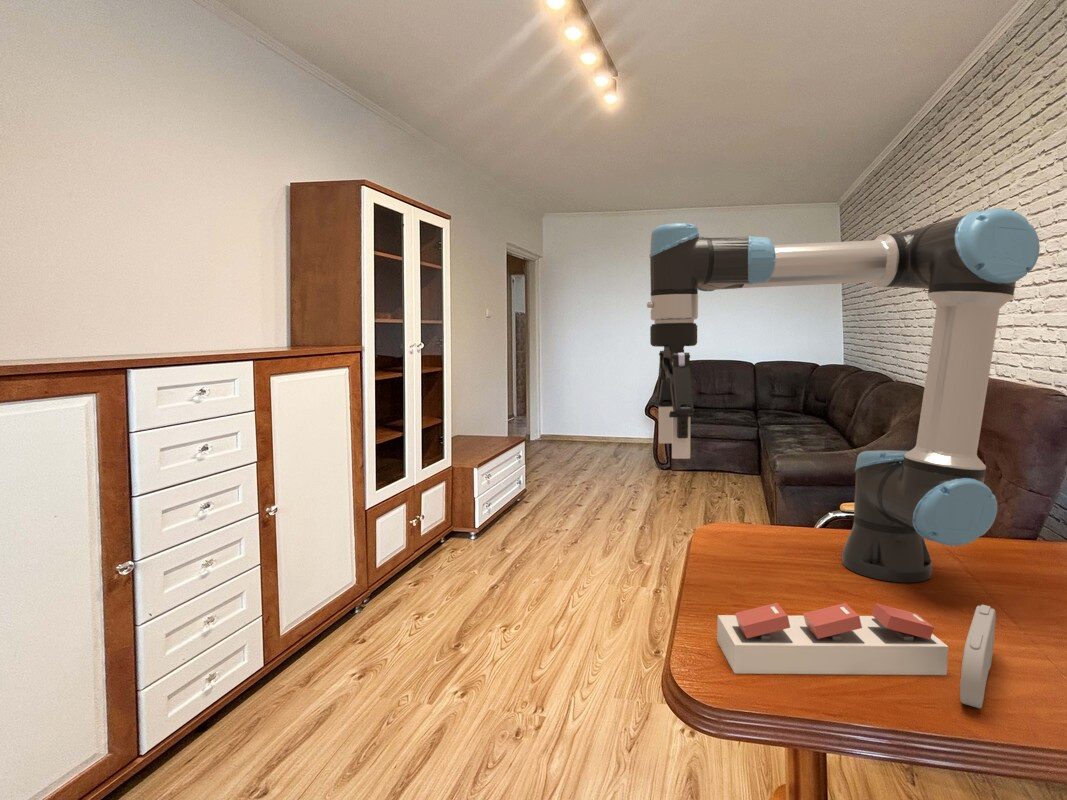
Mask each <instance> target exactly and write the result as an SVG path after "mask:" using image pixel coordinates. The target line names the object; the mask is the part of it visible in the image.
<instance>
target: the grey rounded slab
mask: <svg viewBox="0 0 1067 800" xmlns="http://www.w3.org/2000/svg"><path fill="white" fill-rule="evenodd" d="M996 618H997V617H996V610H995V609H994V608H992V607H991V606H990V605H986V604H980V605H977V606H976V608H975V610H974V614H973V618H972V621H971V623H970V627H969V629H968V633H967V637H966V640H965V644H964V649H963V653H962V663H961V668H960V671H959V672H960V674H959V675H960V676H959V679H960V685H959V688H960V689H959V697H960V700H959V701H960V703H962V704H964V705H967V706H970V707H974V708H976V709H982V707H983V703H984V698H985V693H986V692H985V691H986V684H987V682H988V681H987V680H988V675H989V672H990V669H991V667H992V661H993V654H994V653H993V652H994V646H995V645H994V644H995V636H996V635H995V633H996V622H997V621H996Z"/></svg>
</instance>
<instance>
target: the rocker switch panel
mask: <svg viewBox="0 0 1067 800" xmlns="http://www.w3.org/2000/svg"><path fill="white" fill-rule="evenodd" d="M859 617H860V621H861V626H862V628H860V629H856V630H852V631H848V632H844V633H840V634H836V635H832V636H828V637H823V638H819V639H818V638H817V637H816V636H815V635H814V634H813V633H812V631H811V630H810V629H809V628H808V627H807V626H806V623H805V619H804V615H788V619H789V624H790V628H787V629H783V630H779V631H775V632H771V633H767V634H763V635H759V636H755V637H750V638H746V636H745V635H744V633H743V632H742V630H741V629H740V627H739V625H738V622H737V619H736V615H735V614H734V615H733V614H732V615H731V614H725V615H724V614H723V615H721V614H719V615H717V622H716V623H717V624H716V625H717V629H716V631H717V632H716V641H717V643H718V646H719V647H720V649H721V651H722V654H723V655H724V657H725V658H726V661H727V662H728V664H729V666H730V668H731V669H732V672H733V673H734V674H743V675H744V674H746V675H748V674H749V675H751V674H752V675H754V674H758V675H759V674H760V675H761V674H763V675H768V674H769V675H775V674H776V675H872V676H873V675H875V676H876V675H877V676H880V675H881V676H883V675H885V676H886V675H888V676H889V675H890V676H900V675H901V676H947V675H948V673H947V672H948V658H949V646H948V645H947V644H946V643H944V641H942V640H941V639H939V638H938V637H937V636H936V635H935V634H933V633H932V635H931V638H930V639H926V638H922V637H918V636H915V635H911V634H907V633H903V632H899V631H895V630H892V629H888V628H886V627H885V626H884V625H882V624H881V623H880V622H879V621H878V620H877V619H876V618H874V617H873V616H872V615H859Z"/></svg>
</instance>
